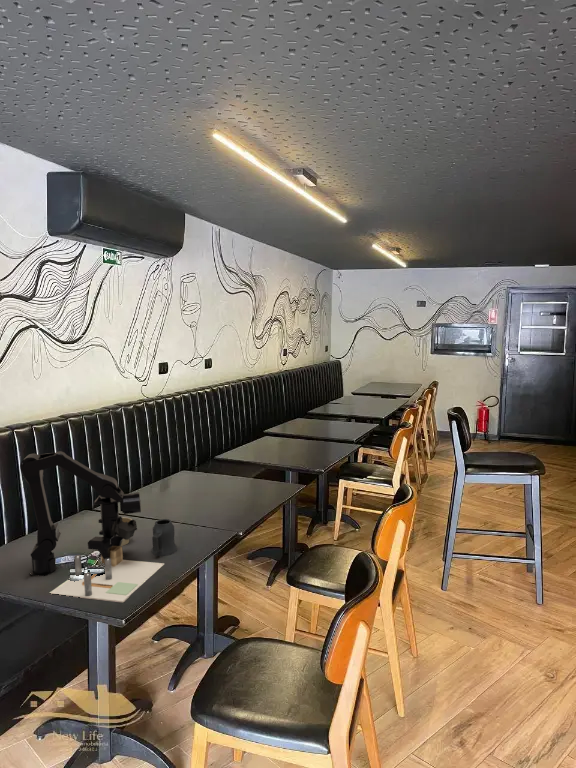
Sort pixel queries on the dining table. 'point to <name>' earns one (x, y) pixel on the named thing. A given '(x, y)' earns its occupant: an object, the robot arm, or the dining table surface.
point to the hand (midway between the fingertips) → (112, 559)
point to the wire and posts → (88, 576)
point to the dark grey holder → (163, 538)
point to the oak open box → (115, 555)
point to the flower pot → (124, 539)
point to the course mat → (113, 582)
